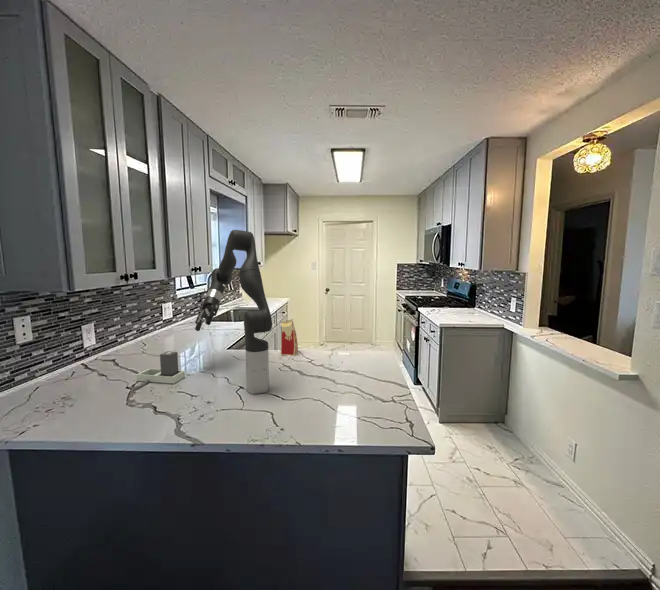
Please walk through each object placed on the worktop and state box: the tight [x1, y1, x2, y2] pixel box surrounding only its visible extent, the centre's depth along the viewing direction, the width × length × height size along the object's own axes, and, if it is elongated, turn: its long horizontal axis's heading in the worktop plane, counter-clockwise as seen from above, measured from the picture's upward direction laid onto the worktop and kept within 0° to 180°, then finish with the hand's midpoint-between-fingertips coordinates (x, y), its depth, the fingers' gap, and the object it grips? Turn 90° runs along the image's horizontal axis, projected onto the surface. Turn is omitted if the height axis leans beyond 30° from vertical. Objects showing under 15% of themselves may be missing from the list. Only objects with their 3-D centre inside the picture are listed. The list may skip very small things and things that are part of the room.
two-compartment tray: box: [132, 368, 186, 391], centre depth 147 cm, size 17×18×3 cm
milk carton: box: [280, 318, 299, 357], centre depth 190 cm, size 9×9×20 cm
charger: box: [159, 350, 179, 377], centre depth 150 cm, size 5×5×12 cm
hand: (202, 327), depth 157 cm, fingers open, 8 cm apart
